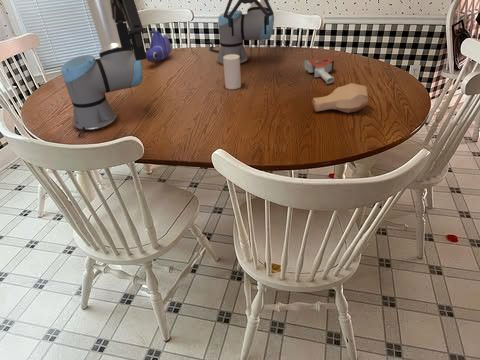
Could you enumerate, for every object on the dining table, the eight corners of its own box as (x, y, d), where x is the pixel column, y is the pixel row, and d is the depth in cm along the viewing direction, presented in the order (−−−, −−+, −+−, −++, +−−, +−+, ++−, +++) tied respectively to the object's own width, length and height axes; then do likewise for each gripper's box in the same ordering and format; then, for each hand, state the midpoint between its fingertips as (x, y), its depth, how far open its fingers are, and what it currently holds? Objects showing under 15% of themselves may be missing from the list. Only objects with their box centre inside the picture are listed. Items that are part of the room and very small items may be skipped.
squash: (372, 113, 127) (374, 92, 121) (316, 123, 129) (316, 102, 123) (363, 96, 135) (365, 75, 129) (310, 106, 137) (310, 86, 130)
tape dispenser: (330, 89, 151) (346, 71, 163) (331, 77, 147) (348, 59, 160) (292, 80, 158) (310, 64, 171) (293, 69, 155) (311, 53, 167)
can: (230, 90, 152) (228, 60, 144) (222, 85, 156) (220, 56, 149) (244, 86, 155) (242, 56, 147) (235, 82, 159) (233, 53, 152)
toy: (159, 62, 200) (139, 68, 178) (155, 30, 193) (133, 32, 171) (176, 61, 198) (157, 67, 176) (172, 29, 191) (151, 31, 169)
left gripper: (144, -37, 77) (162, 61, 89) (115, -42, 95) (133, 41, 107) (109, -33, 74) (133, 68, 86) (86, -39, 92) (108, 45, 104)
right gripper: (213, -20, 133) (218, 38, 146) (280, -25, 132) (279, 35, 145) (215, -23, 139) (220, 33, 152) (278, -27, 138) (278, 30, 151)
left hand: (133, 53), depth 97 cm, fingers open, 13 cm apart
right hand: (249, 34), depth 149 cm, fingers open, 13 cm apart
